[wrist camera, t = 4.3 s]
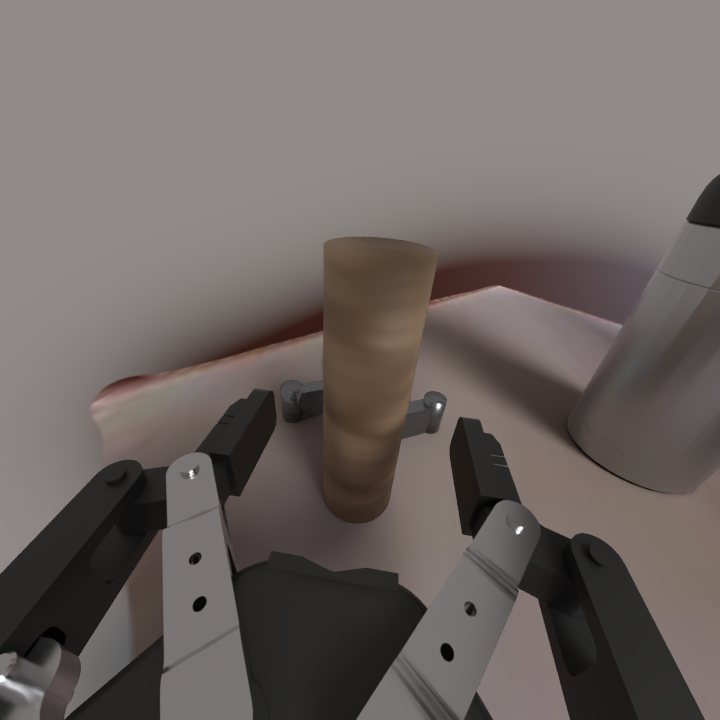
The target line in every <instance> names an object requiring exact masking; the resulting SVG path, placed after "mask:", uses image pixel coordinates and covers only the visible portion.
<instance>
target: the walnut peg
mask: <svg viewBox="0 0 720 720" xmlns="http://www.w3.org/2000/svg"><path fill="white" fill-rule="evenodd" d="M438 255H439V254H438V252H437V251H436V250H434V249H432V248H430V247H427V246H425V245H421V244H418V243H413V242H408V241H403V240H396V239H388V238H377V237H344V238H336V239H331V240H328V241H326V242H325V243H324V337H323V496H324V500H325V503H326V505H327V507H328V508H329V510H330V511H331V512H332V513H333V514H334V515H335V516H336V517H338V518H340V519H341V520H344V521H346V522H350V523H365V522H369V521H372V520H374V519H375V518H377V517H378V516H380V515H381V514H382V513H383V512H384V510H385V509H386V507H387V505H388V502H389V499H390V494H391V489H392V484H393V479H394V474H395V469H396V464H397V459H398V454H399V449H400V444H401V439H402V434H403V429H404V424H405V419H406V414H407V409H408V404H409V399H410V394H411V389H412V384H413V379H414V374H415V369H416V364H417V359H418V355H419V350H420V345H421V340H422V335H423V330H424V325H425V320H426V315H427V310H428V305H429V300H430V295H431V290H432V285H433V280H434V275H435V270H436V265H437V260H438Z"/></svg>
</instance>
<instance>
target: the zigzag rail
mask: <svg viewBox="0 0 720 720" xmlns="http://www.w3.org/2000/svg"><path fill="white" fill-rule="evenodd" d="M281 397H282V407H283V417H284V419H285V420H286V421H287V422H292V423H293V422H298V421H300V420H302V419H303V418H306V417H311V416H315V415H320V414H323V381H318V382H312V383H306V384H302V383H301V382H299V381H296V380H289V381H286V382H284V383H283V384H282V385H281ZM446 402H447V399H446V397H445V396H444V395H443V394H441V393H439V392H435V391H431V392H427V393H426V394H425V397H424V399H421V400H417V401H412V402H409V404H408V409H407V414H406V419H405V424H404V429H403V434H402V439H404V438H407V437H411V436H415V435H419V434H422V433H429V434H433V433H436V432H437V431H438V429H439V426H440V422H441V419H442V416H443V412H444V409H445V405H446Z"/></svg>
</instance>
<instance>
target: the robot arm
mask: <svg viewBox="0 0 720 720" xmlns="http://www.w3.org/2000/svg"><path fill="white" fill-rule="evenodd" d="M687 220H688V222H685V223H684V224H683V225H682V227H681V229H680V231H679V232H678V234H677V236H676V237H675V239H674V241H673V243H672V244H671V246H670V247H669V249H668V251H667V252H666V254H665V256H664V257H663V259H662V261H661V263H660V264H659V266H658V269H657V270H656V271H655V273H654V275H653V277H652V278H651V280H650V282H649V283H648V285H647V286H646V288H645V290H644V292H643V293H642V295H641V297H640V298H639V300H638V302H637V303H636V305H635V307H634V308H633V310H632V312H631V313H630V315H629V317H628V318H627V320H626V322H625V324H624V325H623V327H622V328H621V330H620V332H619V333H618V335H617V337H616V338H615V340H614V342H613V344H612V345H611V347H610V349H609V350H608V352H607V354H606V355H605V357H604V359H603V360H602V362H601V364H600V365H599V367H598V369H597V370H596V372H595V374H594V375H593V377H592V379H591V380H590V382H589V384H588V385H587V387H586V389H585V390H584V392H583V394H582V395H581V397H580V399H579V400H578V402H577V404H576V405H575V407H574V409H573V410H572V412H571V414H570V416H569V418H568V420H567V428H568V430H569V433H570V435H571V436H572V438H573V439H574V441H575V442H576V444H577V445H578V446H579V447H580V448H581V449H582V450H583V451H584V452H585V453H586V454H587V455H589V456H590V457H591V458H592V459H593V460H595V461H596V462H597V463H599V464H600V465H602V466H603V467H605V468H606V469H608V470H609V471H611V472H613V473H615V474H617V475H618V476H620V477H622V478H624V479H626V480H628V481H631V482H633V483H635V484H637V485H640V486H643V487H646V488H649V489H652V490H655V491H660V492H665V493H670V494H684V493H688V492H692V491H694V490H695V489H696V488H698V487H699V486H700V485H701V484H702V483H703V482H704V481H705V480H706V479H708V478H709V477H710V476H711V475H712V474H713V473H714V472H715V471H716V470H717V469H719V468H720V175H718V176H717V177H715V178H714V179H713V180H712V181H711V182H710V183H709V184H708V185H707V186H706V188H705V189H704V191H703V192H702V194H701V195H700V196H699V198H698V200H697V202H696V203H695V205H694V207H693V208H692V210H691V212H690V214H689V215H688V217H687ZM276 418H277V417H276V408H275V399H274V393H273V391H270V390H263V389H254V390H253V391H252V392H251V394H250V395H249V397H248V398H247V399H240V400H238V401H237V402H235V403H234V404H232V405H231V406H230V407H229V408H228V410H227V411H226V412H225V414H224V416H222V417H221V419H220V420H219V421H218V424H216V425H215V427H214V428H213V429H212V431H211V432H210V433H209V434H208V436H207V437H206V438H205V440H204V441H203V442H202V444H201V445H200V446H199V448H198V449H197V450H196V451H195V452H194V453H190V454H187V455H184V456H182V457H180V458H179V459H177V460H176V461H174V462H173V463H172V464H171V466H167V467H160V468H152V469H144V470H143V468H142V466H141V465H140V463H139V462H137V461H135V460H123V461H119V462H116V463H113V464H111V465H109V466H107V467H105V468H104V469H102V470H101V471H100V472H98V474H96V475H95V476H94V477H93V479H91V480H90V482H89V483H88V484H87V485H86V486H85V487H84V488H83V489H82V490H81V491H80V492H79V493H78V494H77V495H76V496H75V497H74V498H73V499H72V500H71V501H70V502H69V504H67V505H66V506H65V507H64V509H63V510H62V511H61V512H60V513H59V514H58V515H57V516H56V517H55V518H54V519H53V520H52V521H51V522H50V523H49V524H48V525H47V526H46V527H45V528H44V530H42V531H41V532H40V533H39V535H38V536H37V537H36V538H35V539H34V540H33V541H32V542H31V543H30V544H29V545H28V546H27V547H26V548H25V549H24V550H23V551H22V552H21V553H20V554H19V555H18V556H17V557H16V558H15V559H14V560H13V561H12V562H11V564H10V565H9V566H8V567H7V568H6V569H5V570H4V571H3V572H2V573H1V574H0V720H64V714H65V710H66V707H67V705H68V704H69V702H70V701H71V699H72V696H73V694H74V689H75V687H76V685H77V682H78V680H79V676H80V671H81V663H80V660H79V658H78V656H79V655H80V653H81V652H82V650H83V648H84V647H85V645H86V644H87V642H88V641H89V639H90V637H91V636H92V634H93V633H94V631H95V630H96V628H97V626H98V625H99V623H100V622H101V620H102V618H103V617H104V615H105V614H106V612H107V611H108V609H109V608H110V606H111V604H112V603H113V601H114V600H115V598H116V596H117V595H118V593H119V592H120V590H121V589H122V587H123V586H124V584H125V582H126V581H127V579H128V578H129V576H130V575H131V573H132V571H133V570H134V568H135V567H136V565H137V564H138V562H139V560H140V559H141V557H142V556H143V554H144V553H145V551H146V549H147V548H148V546H149V545H150V543H151V541H152V540H153V538H154V537H155V535H156V534H157V532H158V530H160V529H163V532H162V564H163V625H164V635H162V636H161V637H160V638H159V639H158V640H157V641H155V642H154V643H153V644H152V645H151V646H150V647H148V648H147V649H146V650H145V651H144V652H142V653H141V654H140V655H139V656H138V657H137V658H135V659H134V660H133V661H132V662H131V663H130V664H128V665H127V666H126V667H125V668H124V669H123V670H121V671H120V672H119V673H118V674H117V675H116V676H114V677H113V678H112V679H111V680H110V681H108V682H107V683H106V684H105V685H104V686H103V687H101V688H100V689H99V690H98V691H97V692H96V693H94V694H93V695H92V696H91V697H90V698H88V699H87V700H86V701H85V702H84V703H83V704H81V705H80V706H79V707H78V708H77V709H76V710H74V711H73V712H72V713H71V714H70V715H69V716H68V717H67V718H66V719H65V720H493V719H492V717H491V715H490V714H489V712H488V710H487V709H486V707H485V705H484V703H483V702H482V700H481V698H480V696H479V695H478V693H477V688H478V686H479V684H480V681H481V679H482V677H483V674H484V672H485V670H486V667H487V665H488V663H489V661H490V658H491V656H492V654H493V651H494V649H495V647H496V644H497V642H498V640H499V638H500V635H501V633H502V631H503V628H504V626H505V624H506V621H507V619H508V617H509V614H510V612H511V610H512V608H513V605H514V603H515V601H516V598H517V595H518V590H517V588H519V589H521V590H523V591H525V592H527V593H529V594H530V595H532V596H534V597H536V598H538V601H539V605H540V608H541V612H542V616H543V620H544V623H545V627H546V631H547V635H548V638H549V642H550V646H551V650H552V653H553V657H554V661H555V665H556V668H557V672H558V676H559V680H560V683H561V687H562V691H563V695H564V698H565V702H566V706H567V710H568V713H569V717H570V720H705V719H704V717H703V715H702V713H701V711H700V709H699V707H698V705H697V703H696V701H695V699H694V697H693V696H692V694H691V692H690V690H689V688H688V686H687V684H686V682H685V680H684V678H683V676H682V674H681V672H680V670H679V668H678V666H677V665H676V663H675V661H674V659H673V657H672V655H671V653H670V651H669V649H668V647H667V645H666V643H665V641H664V639H663V637H662V635H661V634H660V632H659V630H658V628H657V626H656V624H655V622H654V620H653V618H652V616H651V614H650V612H649V610H648V608H647V606H646V604H645V603H644V601H643V599H642V597H641V595H640V593H639V591H638V589H637V587H636V585H635V583H634V581H633V579H632V577H631V575H630V573H629V572H628V570H627V568H626V566H625V564H624V562H623V560H622V559H621V557H620V556H619V555H618V554H617V553H616V551H615V550H614V549H613V548H612V547H610V546H609V545H608V544H607V543H605V542H604V541H602V540H601V539H599V538H597V537H595V536H593V535H589V534H584V533H580V534H576V535H575V536H574V537H573V538H572V539H569V538H567V537H565V536H563V535H560V534H558V533H556V532H554V531H552V530H549V529H547V528H545V527H543V526H542V525H540V524H539V523H538V521H537V519H536V518H535V516H534V515H533V514H532V513H531V512H530V511H529V510H528V509H527V508H526V507H524V506H523V505H522V504H521V501H520V498H519V496H518V493H517V490H516V487H515V484H514V482H513V479H512V476H511V473H510V470H509V468H508V467H507V462H506V459H505V458H504V454H503V451H502V448H501V445H500V444H499V442H498V441H497V440H496V439H495V438H494V436H493V435H492V434H488V433H484V432H483V429H482V425H481V422H480V420H478V419H471V418H464V417H460V418H459V419H458V422H457V425H456V428H455V431H454V434H453V437H452V440H451V444H450V461H451V467H452V474H453V480H454V486H455V492H456V498H457V505H458V511H459V517H460V523H461V529H462V534H463V535H469V536H472V537H473V541H472V543H471V544H470V546H469V547H468V548H467V549H466V551H465V552H464V554H463V555H462V557H461V558H460V560H459V561H458V563H457V564H456V566H455V568H454V569H453V571H452V572H451V574H450V575H449V577H448V579H447V580H446V582H445V583H444V585H443V586H442V588H441V589H440V591H439V593H438V594H437V596H436V597H435V599H434V600H433V602H432V604H431V605H430V607H429V608H428V609H427V608H426V606H425V605H424V604H423V603H422V602H421V601H420V599H419V598H418V597H416V596H415V595H414V594H413V593H412V592H411V591H409V590H408V589H406V588H405V587H403V586H401V585H399V584H398V573H392V572H387V571H381V570H375V569H370V568H362V569H353V570H345V571H337V572H333V571H329V570H327V569H325V568H323V567H321V566H320V565H318V564H316V563H314V562H312V561H310V560H308V559H306V558H304V557H302V556H297V555H291V554H285V553H280V552H274V551H272V552H271V555H270V557H269V560H268V561H264V562H260V563H257V564H254V565H251V566H249V567H247V568H245V569H243V570H241V571H239V568H238V564H237V560H236V556H235V552H234V547H233V542H232V537H231V532H230V527H229V522H228V517H227V512H226V507H225V502H226V501H227V499H228V497H229V495H233V496H239V497H240V495H241V493H242V491H243V489H244V487H245V485H246V483H247V481H248V479H249V477H250V476H251V474H252V472H253V470H254V468H255V466H256V464H257V462H258V460H259V458H260V456H261V454H262V452H263V450H264V449H265V447H266V445H267V443H268V441H269V439H270V437H271V435H272V433H273V431H274V429H275V425H276Z"/></svg>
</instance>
